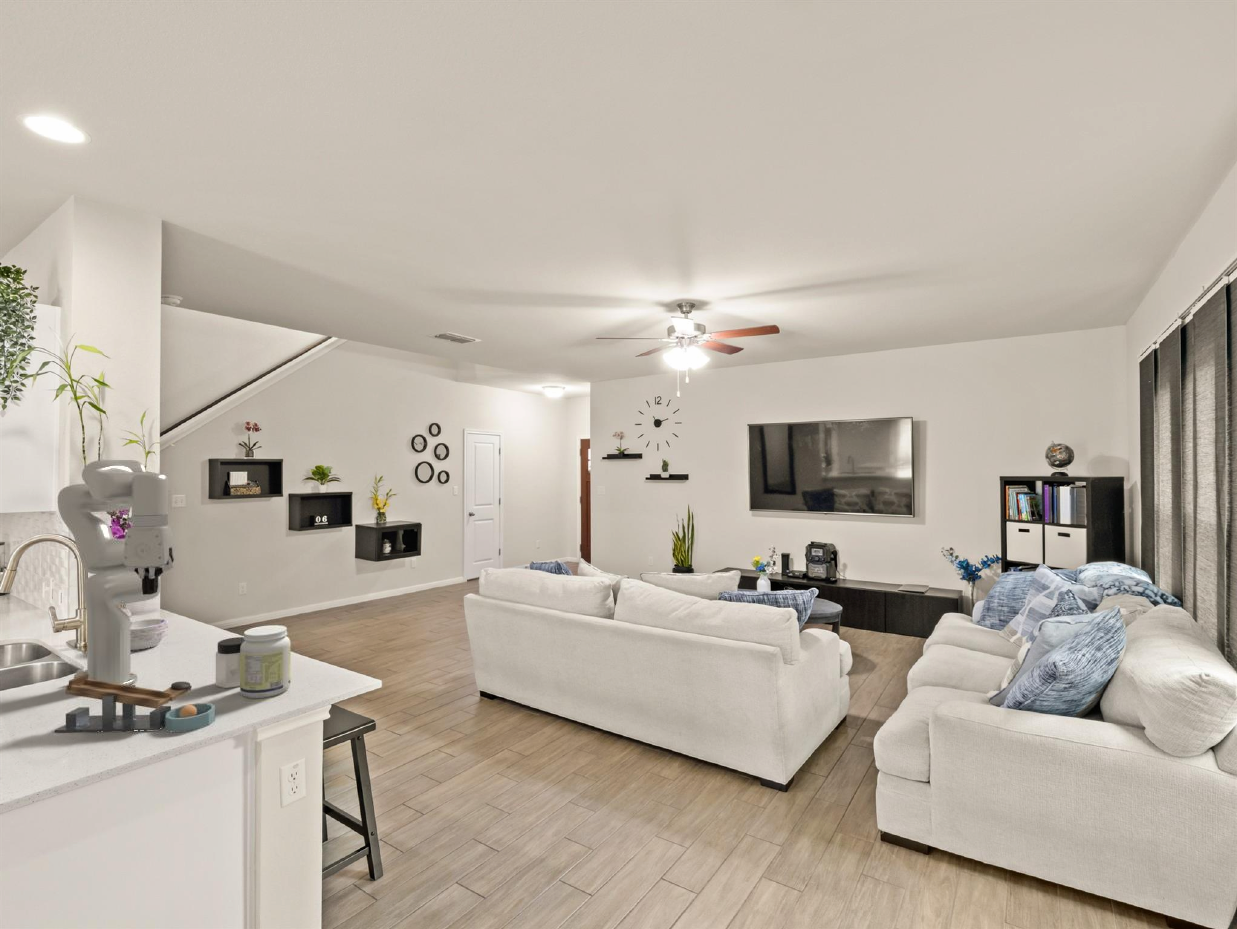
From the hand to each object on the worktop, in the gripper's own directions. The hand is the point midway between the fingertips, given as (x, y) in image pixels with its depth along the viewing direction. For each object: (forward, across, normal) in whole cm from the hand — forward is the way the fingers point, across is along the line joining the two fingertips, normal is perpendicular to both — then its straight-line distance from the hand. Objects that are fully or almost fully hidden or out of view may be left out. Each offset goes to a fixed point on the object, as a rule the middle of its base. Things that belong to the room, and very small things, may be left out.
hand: (150, 593), depth 164 cm
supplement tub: (+29, +24, +10) cm, 39 cm away
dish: (+29, +16, -11) cm, 35 cm away
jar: (+29, +12, +17) cm, 36 cm away
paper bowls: (+29, -38, +54) cm, 72 cm away
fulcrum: (+29, 0, -11) cm, 31 cm away
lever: (+23, 0, -7) cm, 24 cm away
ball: (+27, +16, -11) cm, 33 cm away
